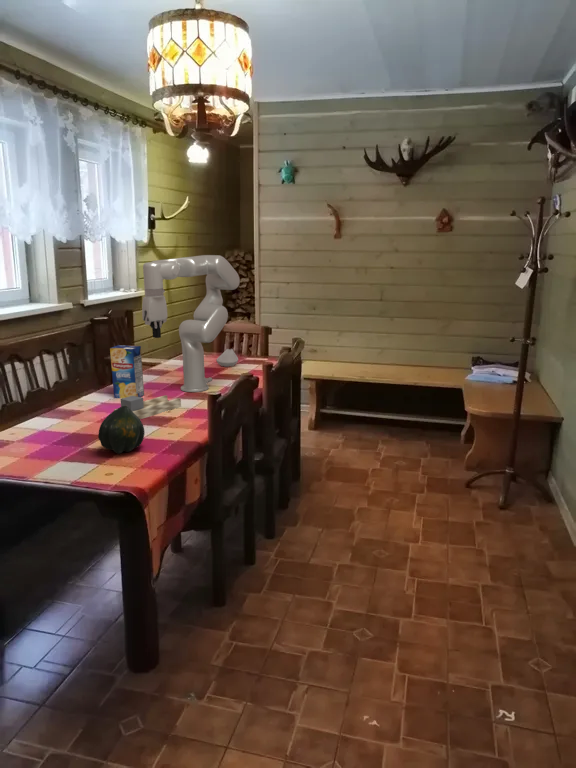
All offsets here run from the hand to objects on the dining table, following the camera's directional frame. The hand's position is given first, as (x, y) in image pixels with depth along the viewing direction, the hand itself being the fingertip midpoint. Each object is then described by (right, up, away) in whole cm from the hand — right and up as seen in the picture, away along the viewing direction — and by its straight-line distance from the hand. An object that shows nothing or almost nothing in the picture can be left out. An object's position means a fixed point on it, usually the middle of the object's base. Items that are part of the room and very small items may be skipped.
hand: (156, 337), depth 252 cm
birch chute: (-1, -31, -11) cm, 33 cm away
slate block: (-6, -31, -17) cm, 36 cm away
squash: (0, -41, -52) cm, 66 cm away
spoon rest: (+22, -9, +79) cm, 82 cm away
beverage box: (-15, -25, +13) cm, 32 cm away
